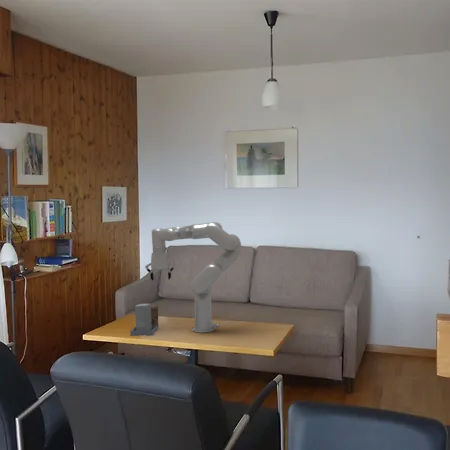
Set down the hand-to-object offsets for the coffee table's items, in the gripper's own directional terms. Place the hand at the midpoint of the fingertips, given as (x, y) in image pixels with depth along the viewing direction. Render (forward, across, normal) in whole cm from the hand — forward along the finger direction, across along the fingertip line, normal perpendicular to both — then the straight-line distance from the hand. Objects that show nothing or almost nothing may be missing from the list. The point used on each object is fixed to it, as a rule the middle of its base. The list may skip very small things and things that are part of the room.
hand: (160, 279), depth 314 cm
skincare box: (+28, +10, +8) cm, 31 cm away
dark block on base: (+28, +10, -1) cm, 30 cm away
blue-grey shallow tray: (+28, +10, +8) cm, 31 cm away
